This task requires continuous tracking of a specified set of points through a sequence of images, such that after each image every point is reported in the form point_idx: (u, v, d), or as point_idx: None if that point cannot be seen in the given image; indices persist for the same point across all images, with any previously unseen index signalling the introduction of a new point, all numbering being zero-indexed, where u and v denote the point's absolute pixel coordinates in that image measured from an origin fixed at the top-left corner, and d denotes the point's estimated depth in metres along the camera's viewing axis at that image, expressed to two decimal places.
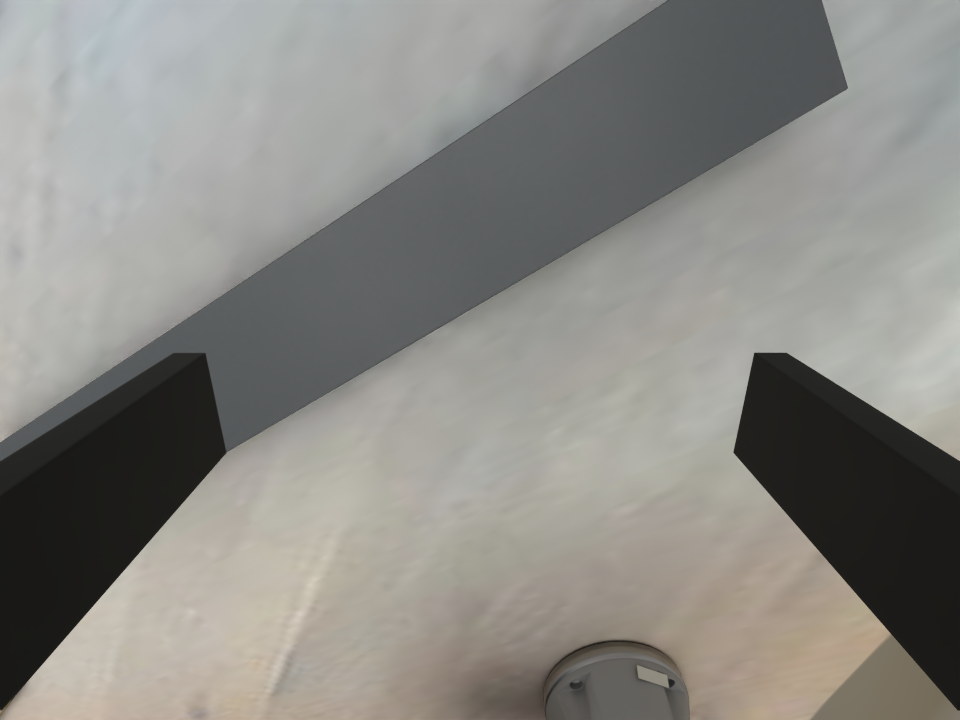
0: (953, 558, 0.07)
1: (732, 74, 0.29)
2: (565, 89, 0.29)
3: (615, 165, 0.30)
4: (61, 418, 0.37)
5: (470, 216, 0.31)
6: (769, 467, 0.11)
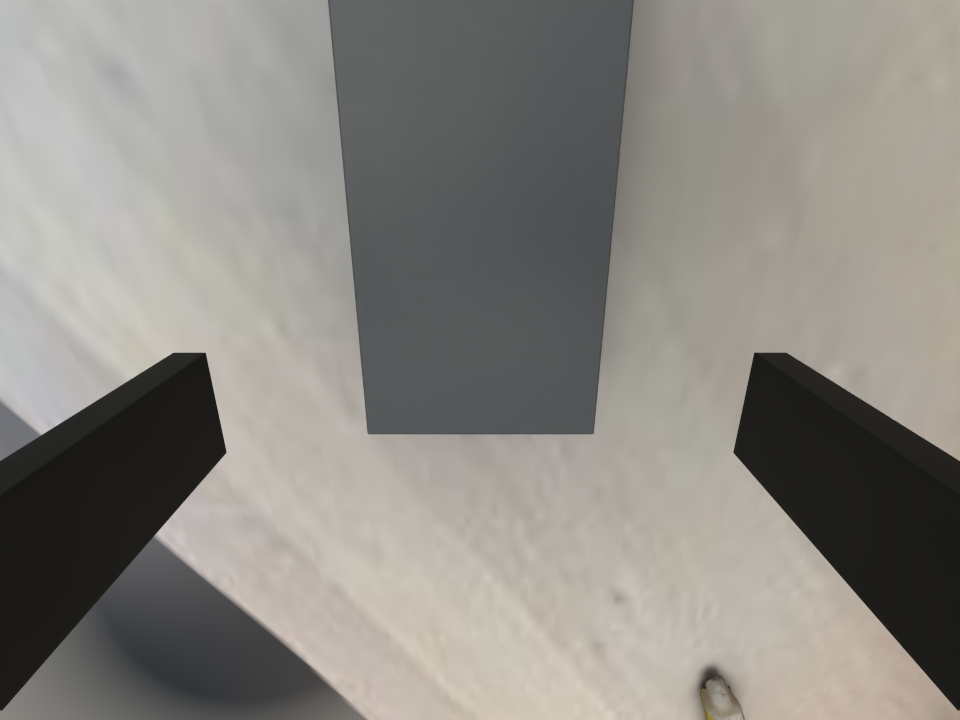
0: (953, 558, 0.07)
1: None
2: None
3: None
4: (364, 78, 0.16)
5: None
6: (769, 467, 0.11)
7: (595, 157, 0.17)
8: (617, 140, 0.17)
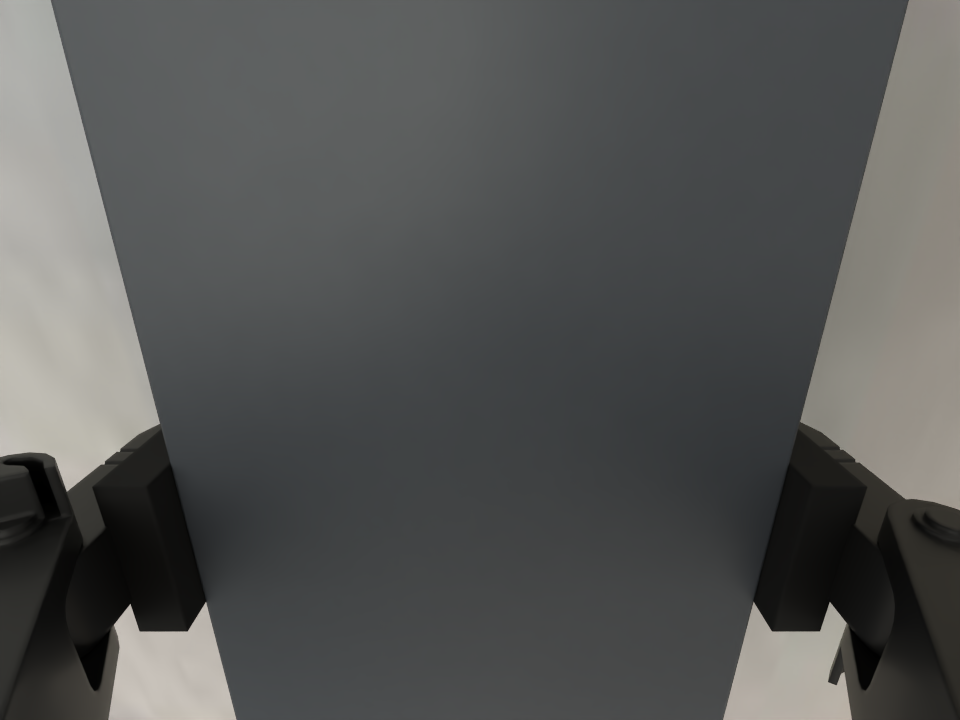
0: None
1: None
2: None
3: None
4: None
5: None
6: None
7: (805, 149, 0.06)
8: (874, 101, 0.06)
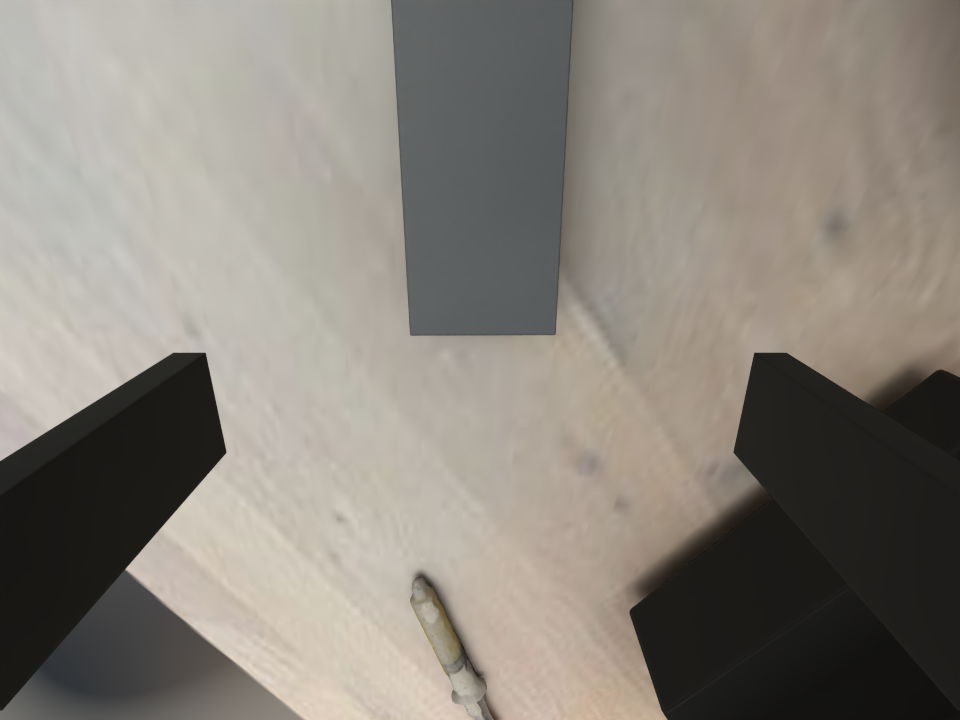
0: (953, 558, 0.07)
1: None
2: None
3: None
4: (414, 111, 0.28)
5: None
6: (769, 467, 0.11)
7: (550, 156, 0.28)
8: (563, 146, 0.28)
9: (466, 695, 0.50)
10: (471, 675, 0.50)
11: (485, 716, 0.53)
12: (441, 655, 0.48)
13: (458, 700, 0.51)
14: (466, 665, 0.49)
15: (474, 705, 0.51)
